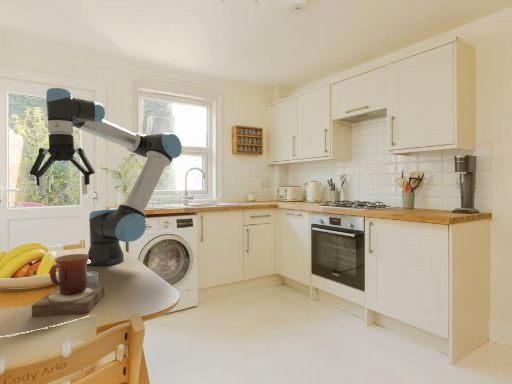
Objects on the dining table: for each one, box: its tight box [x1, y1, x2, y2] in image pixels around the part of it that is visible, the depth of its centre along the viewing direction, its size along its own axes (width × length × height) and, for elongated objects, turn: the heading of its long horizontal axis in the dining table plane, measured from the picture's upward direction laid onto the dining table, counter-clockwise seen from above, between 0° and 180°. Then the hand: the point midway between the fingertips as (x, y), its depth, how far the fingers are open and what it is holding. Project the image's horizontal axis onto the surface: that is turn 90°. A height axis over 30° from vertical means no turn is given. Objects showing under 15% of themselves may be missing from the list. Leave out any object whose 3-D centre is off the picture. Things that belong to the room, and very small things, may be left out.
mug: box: [49, 253, 89, 295], centre depth 94 cm, size 12×9×10 cm
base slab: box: [31, 285, 105, 318], centre depth 94 cm, size 14×14×3 cm
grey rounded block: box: [87, 270, 99, 287], centre depth 112 cm, size 7×7×4 cm
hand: (64, 194), depth 115 cm, fingers open, 13 cm apart
